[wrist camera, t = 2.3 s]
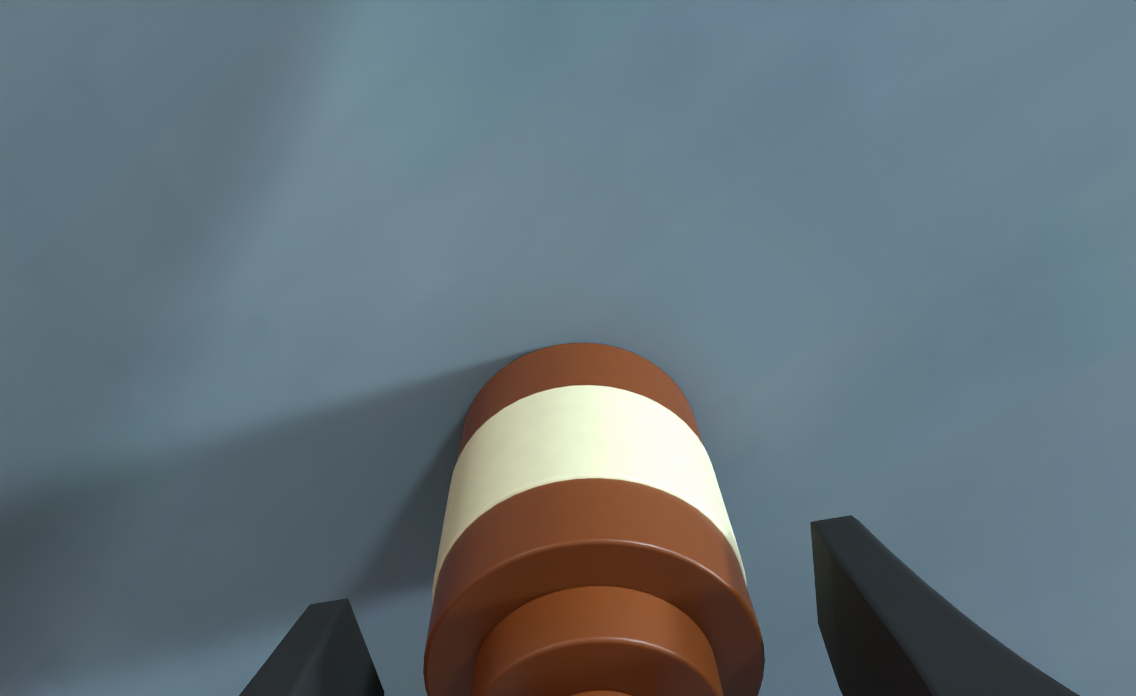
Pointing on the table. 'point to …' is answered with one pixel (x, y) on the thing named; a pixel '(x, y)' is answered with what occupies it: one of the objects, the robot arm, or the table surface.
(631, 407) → the sauce bottle
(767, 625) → the table surface
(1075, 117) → the table surface
